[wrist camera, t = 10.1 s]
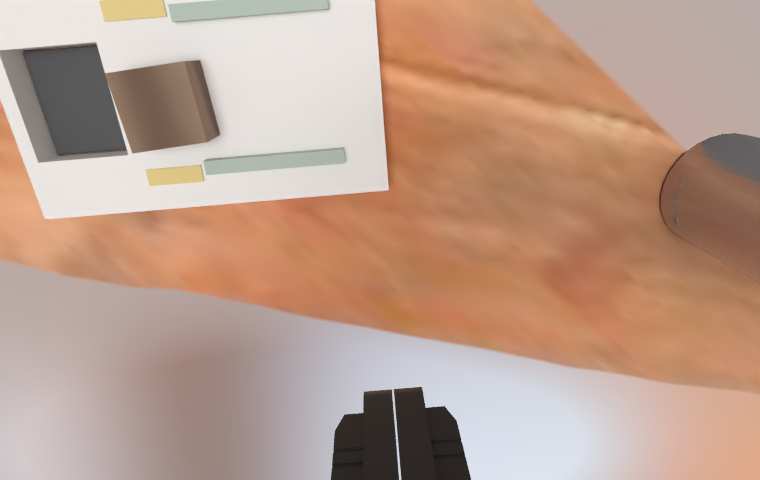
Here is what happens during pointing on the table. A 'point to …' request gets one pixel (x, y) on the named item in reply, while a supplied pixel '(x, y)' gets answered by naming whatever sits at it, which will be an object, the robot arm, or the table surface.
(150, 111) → the walnut block
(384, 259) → the table surface
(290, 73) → the board
